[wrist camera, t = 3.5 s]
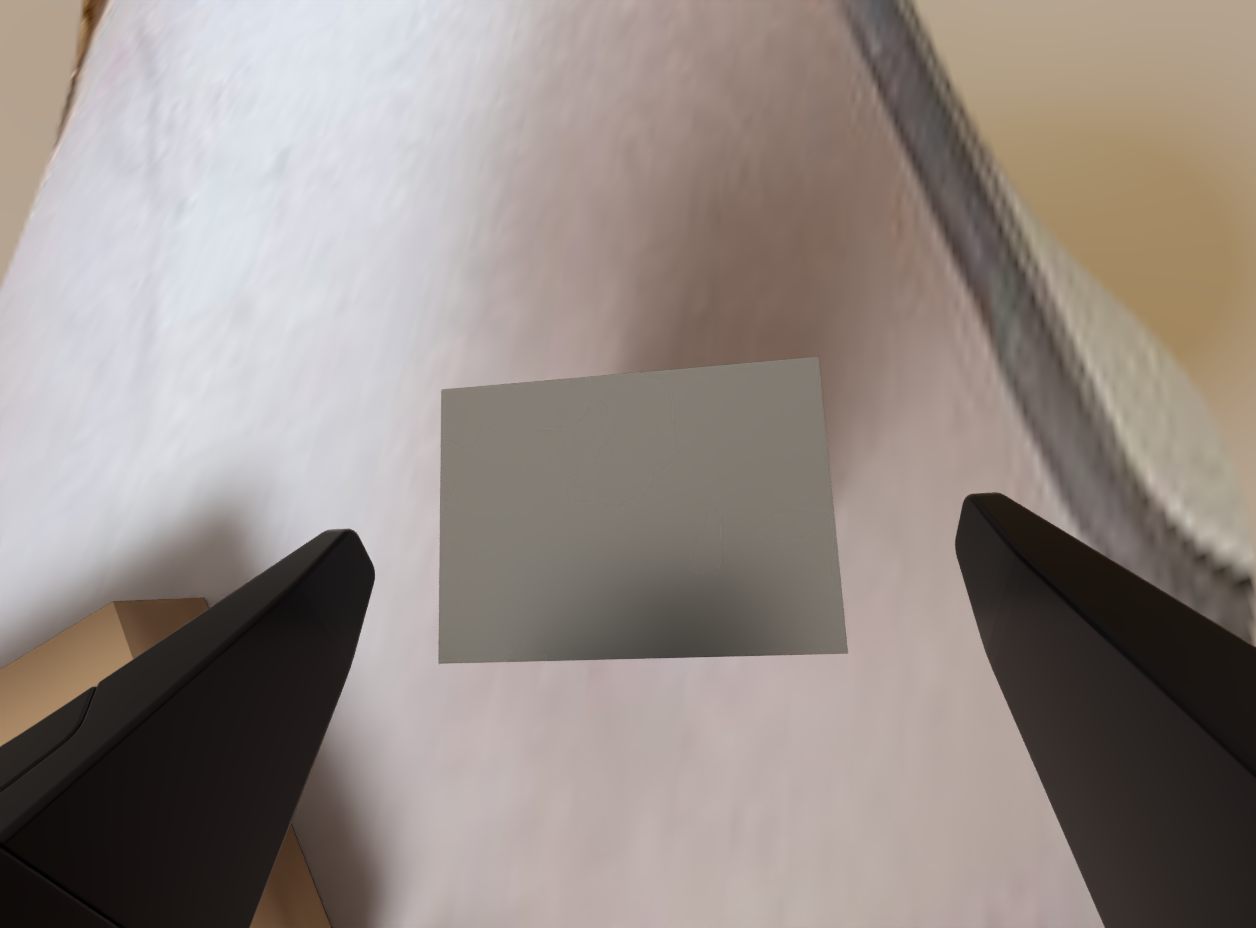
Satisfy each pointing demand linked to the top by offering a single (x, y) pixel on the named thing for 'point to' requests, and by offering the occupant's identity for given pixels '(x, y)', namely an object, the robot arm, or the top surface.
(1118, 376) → the top surface
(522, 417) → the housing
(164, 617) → the stand
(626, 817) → the top surface
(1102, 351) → the top surface
